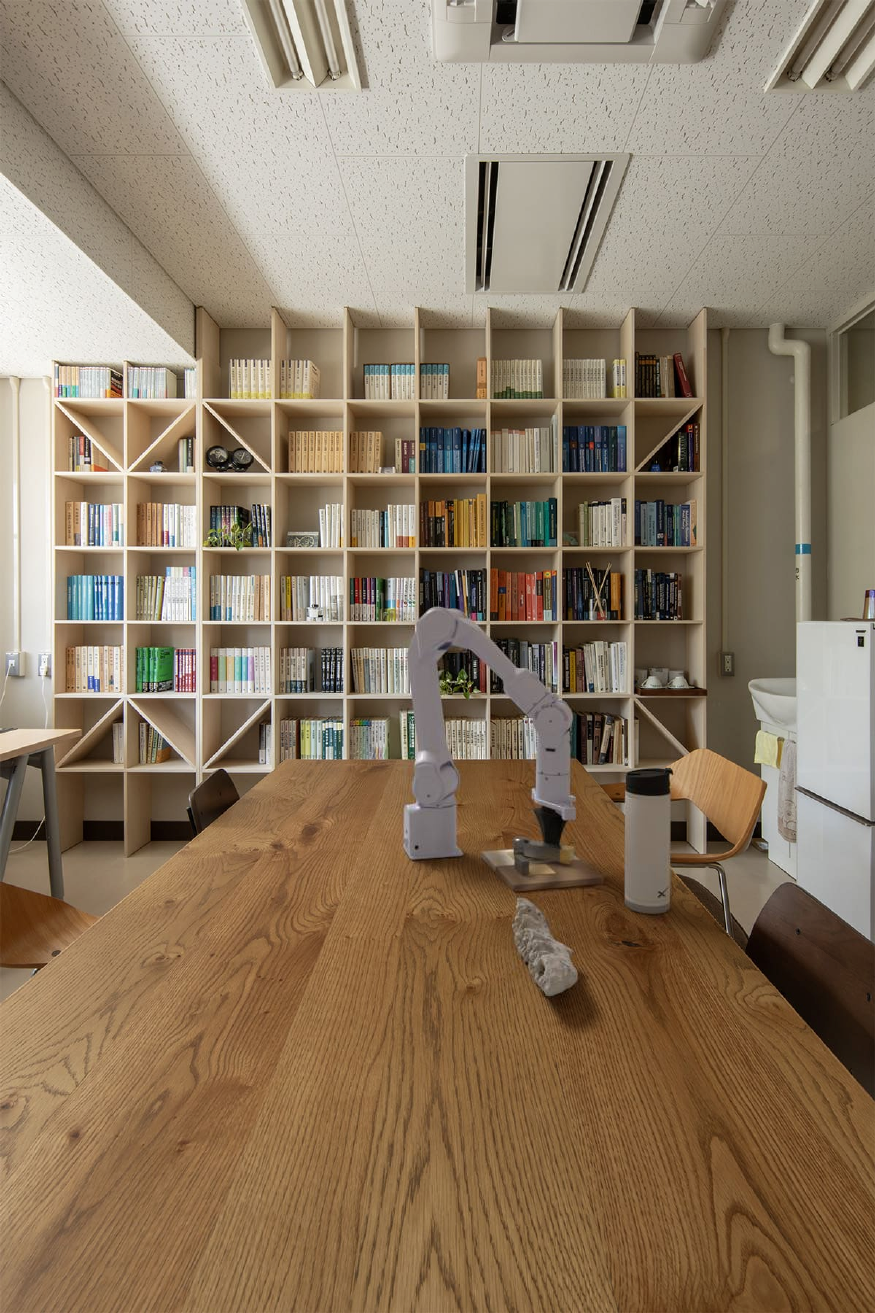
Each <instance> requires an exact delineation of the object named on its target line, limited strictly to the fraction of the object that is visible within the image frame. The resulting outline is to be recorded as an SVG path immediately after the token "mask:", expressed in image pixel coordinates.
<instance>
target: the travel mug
mask: <svg viewBox="0 0 875 1313" xmlns="http://www.w3.org/2000/svg"><path fill="white" fill-rule="evenodd" d="M670 775H671V776H673V775H674V770H673V769H672V768H671V767H664V768H663V767H662V768H661V767H657V768H656V767H649V768H640V769H639V768H638V769H634V770H630V771H628V772H626V775H625V790H624V791H625V792H624V793H625V796H624V905H625V906H626V907H627V908H628V909H630V910H632V911H634V912H637V913H640V914H646V915H647V914H648V915H657V914H658V915H659V914H664V913H666V912H668V911H669V910H670V908H671V897H670V896H671V778H670Z"/></svg>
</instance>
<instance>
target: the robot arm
mask: <svg viewBox="0 0 875 1313" xmlns="http://www.w3.org/2000/svg"><path fill="white" fill-rule="evenodd" d="M415 623H416V625H415V632H414V634H413V637H412V640H411V642H410V645H409V646H408V650H407V653H406V658H407V659H406V660H407V667H408V676H409V684H410V692H411V693H410V694H411V699H412V701H411V702H412V710H413V718H414V719H413V720H414V725H415V727H414V728H415V734H416V742H417V751H418V752H417V756H416V759H415V761H414V765H413V768H414V776H413V779H412V782H411V792H412V795H413V797H414V798H415V801H416V802H415V803H412V804H405V806H404V809H403V849H404V850H405V853H407V856H408V857H409V859H411V860H412V861H415V860H426V859H427V860H428V859H438V858H449V857H450V858H452V857H462V856H464V853H463V851H462V850H461V849H460V847H459V846H458V845H457V798H456V796H455V792H456V791H457V790H458V789H459V786H460V782H461V776H460V773H459V770H458V769H457V767H456V765H455V763H454V760H453V759H454V758H453V755H452V753H451V751H450V750H449V748H448V744H447V737H446V727H445V720H444V719H445V718H444V711H443V704H442V696H441V694H442V693H441V686H440V678H439V670H438V661H439V660H440V659H441V658H442V656H443V655H444V654H445V653H446V652H447V651H448V650H449V648H452V647H454V646H455V647H458V648H462V649H466V650H470V651H471V652H473V653H474V654H475V655H476V656H477V657H478V659H480V660H481V661H482V662H483V663H484V664H485V665H486V666H487V667H488V668H489V669H490V670H491V671H493V673H494V674H496V675H497V676H498V677H499V679H501V680H502V683H503V692H504V693H505V694H506V695H507V696H508V697H509V699H511V701H512V702H513V703H515V705H516V706H517V707H518V708H519V709H520V710H521V711H522V712H523V713H524V714H525V715H526V716H527V717H528V718H529V719H533V720H532V723H533V728H534V730H535V732H536V733H537V736H536V737H537V738H536V739H537V741H536V742H537V744H536V753H535V754H536V757H535V758H536V759H535V760H536V761H535V763H536V764H535V765H536V766H535V787H534V788H531V799H532V800H533V801H534V802H535V804H537V805H539V806H541V807H536V808H533V813H534V815H535V817H536V819H537V821H538V822H537V823H538V824H539V827H540V830H541V836H542V842H545V843H552V844H558V845H561V844H560V843H561V838H562V835H563V833H564V829H565V826H566V824H567V823H568V821H574V820H576V818H577V816H576V814H577V808H576V807H575V806H574V805H573V803H575V802H576V801H577V798H576V796H574V795H572V794H571V795H570V793H571V791H570V790H571V789H570V788H571V787H570V786H571V743H570V741H571V736H570V731H569V729H570V728H571V726H572V723H573V720H574V714H573V711H572V709H571V707H569V704H568V703H567V702H566V701H564V700H561V699H559V697H560V696H559V695H558V694H557V693H556V692H553V693H552V692H551V691H550V690H549V689H548V687H547V686H545V685H544V683H543V682H541V680H539V678H540V674H539V673H538V672H537V671H536V670H533V671H531V670H529V668H526V667H525V668H523V667H521V668H518V667H517V666H515V664H514V663H513V662H512V660H510V659H509V658H508V656H507V655H506V654H505V653H504V652H503V651H502V650H501V649H500V648H499V647H498V645H497V644H496V643H495V642H494V641H493V640H492V639H491V637H490V636H489V635H488V634H486V632H485V631H484V630H483V629H482V628H481V627H480V626H479V625H478V624H477V623H476V622H475V621H474V620H472V619H471V618H468V616H467V614H465V612H464V611H462V610H460V609H458V608H445V607H441V606H434V607H431V608H429V609H428V610H427V611H426V612H424V614H423V615H422V616H421V617H420V618H419V619H418V620H417V621H416V622H415Z"/></svg>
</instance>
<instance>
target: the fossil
mask: <svg viewBox="0 0 875 1313" xmlns="http://www.w3.org/2000/svg"><path fill="white" fill-rule="evenodd" d="M515 908H516V915H515V917H514V923H512V924H511V929H512V930H513V933H514V936H513V937H514V944H515V947H516V949H517V953H518V954H519V955H520V956H521V957H522V958H523V962H524V963H528V964H527V967H528V971H529V974H530V975H531V977H532V978H533V979H534V982H535V984H536V985H538V987H540V989H541V990H542V991H543V992H544V994H545V996H547V997H552V996H555V995H557V994H560V993H563V992H564V991H566V990H567V989H570V988H571V987H572V986H573V985H575V984H576V983H577V982H578V980H579V977H578V970H577V968H576V967H574V965H573V962H572V960H571V958H570V957H571V955H572V954H573V953H574V950H573V949H571V948H570V947H568V946H567V945H565V944H563V943H562V942H559V941H557V940H556V939H554V937H553V935H552V932H551V929H550V925H549V923H548V920H547V919H546V917H545V915H544V914H543V912H542V911H541V910H540V909H539V908H538V907H537V906H536V905H535V904H534V903H532V902H531V901H530V900H528V899H527V898H524V897H516V907H515Z"/></svg>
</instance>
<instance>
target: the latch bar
mask: <svg viewBox="0 0 875 1313" xmlns="http://www.w3.org/2000/svg"><path fill="white" fill-rule="evenodd" d="M512 840H513V842H512V843H513V845H512V846H513V848H512V849H513V854H514V855H523V856H524V857H533V858H539V859H544V860H550V861H556V862H560V863H565V864H570V863H572V862H573V861H574V855H575V846H572V845H567V844H566V845H564V844H563V845H562V844H559V845H558V844H552V843H545V842H543V841H538V840H532V839H531V838H530V837H526V836H516V837H513V839H512Z"/></svg>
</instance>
